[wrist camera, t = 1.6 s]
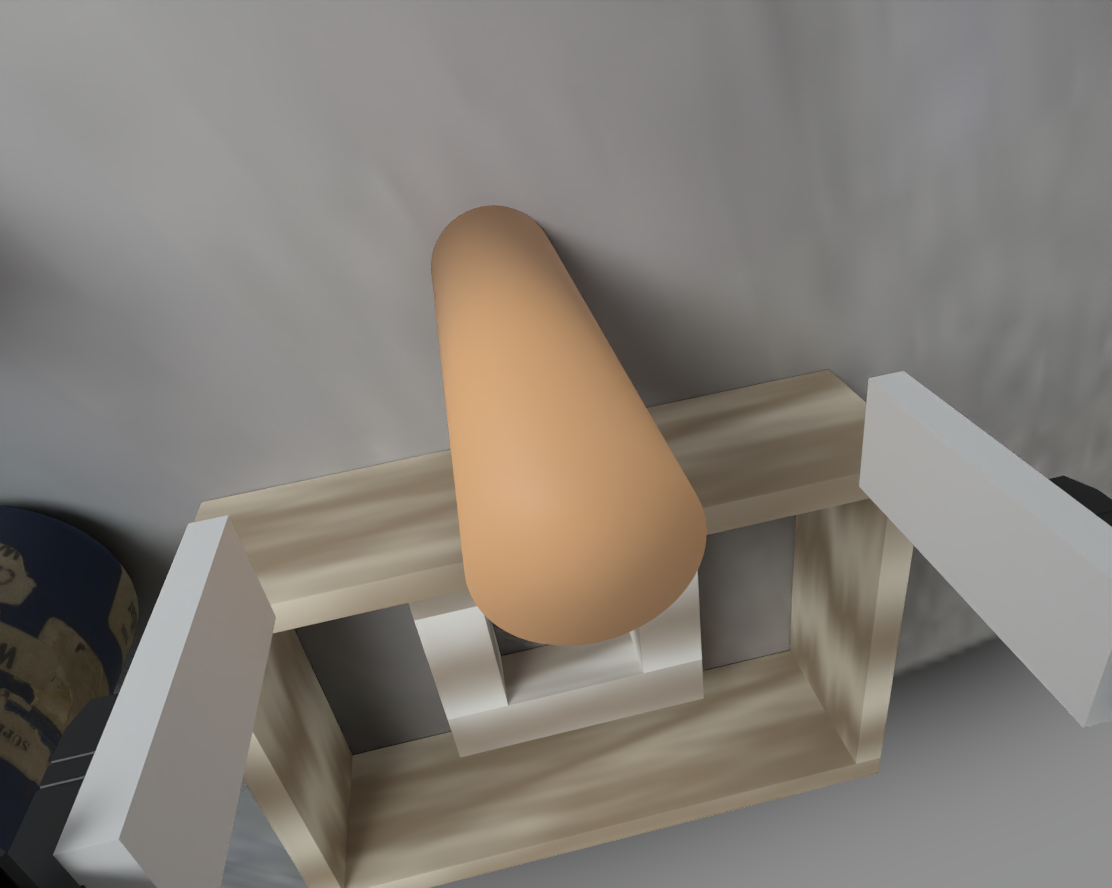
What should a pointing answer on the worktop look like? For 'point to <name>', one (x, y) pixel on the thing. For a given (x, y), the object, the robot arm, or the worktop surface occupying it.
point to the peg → (552, 446)
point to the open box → (573, 660)
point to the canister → (53, 644)
